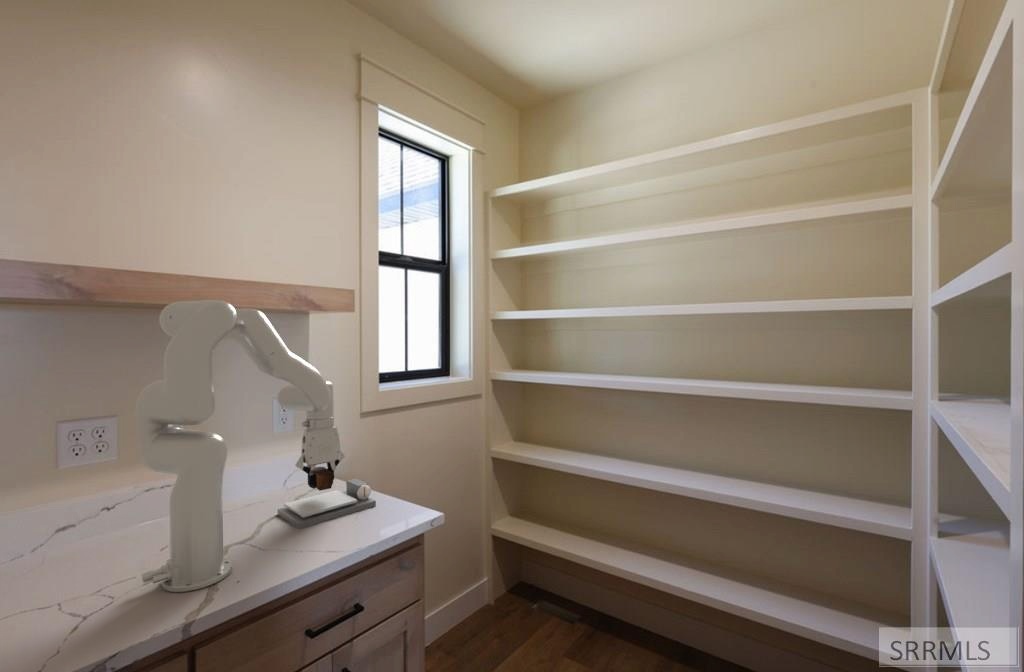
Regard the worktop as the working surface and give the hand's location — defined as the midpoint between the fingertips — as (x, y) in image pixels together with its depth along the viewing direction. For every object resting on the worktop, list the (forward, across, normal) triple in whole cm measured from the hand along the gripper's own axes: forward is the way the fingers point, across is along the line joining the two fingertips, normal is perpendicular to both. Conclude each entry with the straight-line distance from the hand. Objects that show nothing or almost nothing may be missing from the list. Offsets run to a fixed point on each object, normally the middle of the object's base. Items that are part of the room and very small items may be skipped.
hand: (321, 484), depth 140 cm
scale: (+8, +2, 0) cm, 8 cm away
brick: (0, 0, 0) cm, 0 cm away
